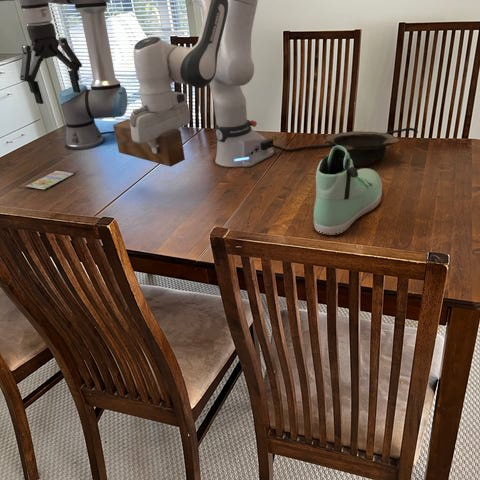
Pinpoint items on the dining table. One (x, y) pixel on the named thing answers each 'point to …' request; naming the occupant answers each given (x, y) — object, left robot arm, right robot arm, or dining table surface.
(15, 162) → the dining table surface
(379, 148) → the dark brown hat
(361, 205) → the sneaker
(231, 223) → the dining table surface
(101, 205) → the dining table surface
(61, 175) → the baking ingredient package
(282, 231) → the dining table surface
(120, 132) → the bar
